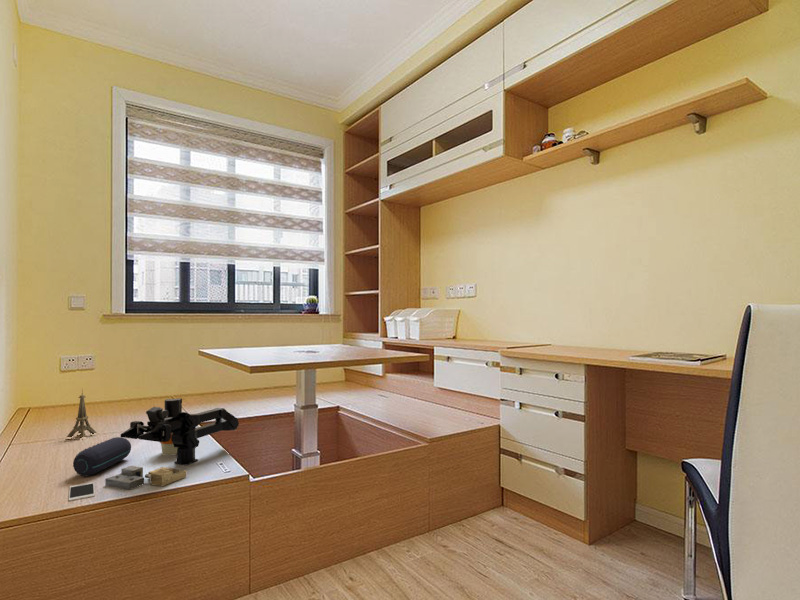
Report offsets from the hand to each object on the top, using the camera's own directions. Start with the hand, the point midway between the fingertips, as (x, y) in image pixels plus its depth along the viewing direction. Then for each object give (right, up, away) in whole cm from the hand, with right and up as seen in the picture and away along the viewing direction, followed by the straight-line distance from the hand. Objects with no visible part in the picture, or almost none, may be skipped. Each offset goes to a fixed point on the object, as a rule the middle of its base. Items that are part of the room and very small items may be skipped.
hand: (129, 436), depth 168 cm
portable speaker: (-21, -18, +17) cm, 32 cm away
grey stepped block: (0, -17, 0) cm, 17 cm away
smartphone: (-12, -17, -8) cm, 22 cm away
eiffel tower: (-63, -20, +67) cm, 94 cm away
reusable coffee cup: (-3, -18, +38) cm, 42 cm away
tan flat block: (+11, -16, +2) cm, 20 cm away
